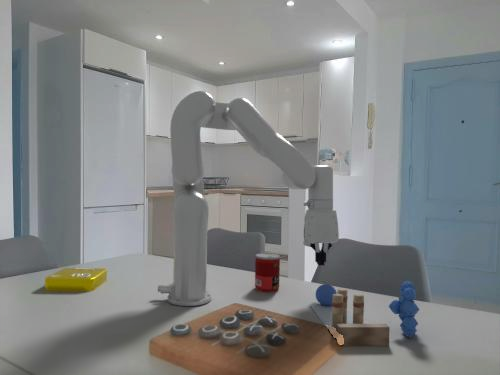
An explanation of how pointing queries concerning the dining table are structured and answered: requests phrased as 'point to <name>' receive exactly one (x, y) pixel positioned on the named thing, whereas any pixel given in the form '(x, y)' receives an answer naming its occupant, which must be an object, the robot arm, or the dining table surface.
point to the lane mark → (328, 314)
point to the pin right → (358, 309)
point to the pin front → (344, 303)
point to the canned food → (267, 272)
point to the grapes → (406, 308)
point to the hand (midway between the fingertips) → (320, 264)
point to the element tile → (76, 279)
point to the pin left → (337, 310)
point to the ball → (325, 294)
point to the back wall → (364, 334)
